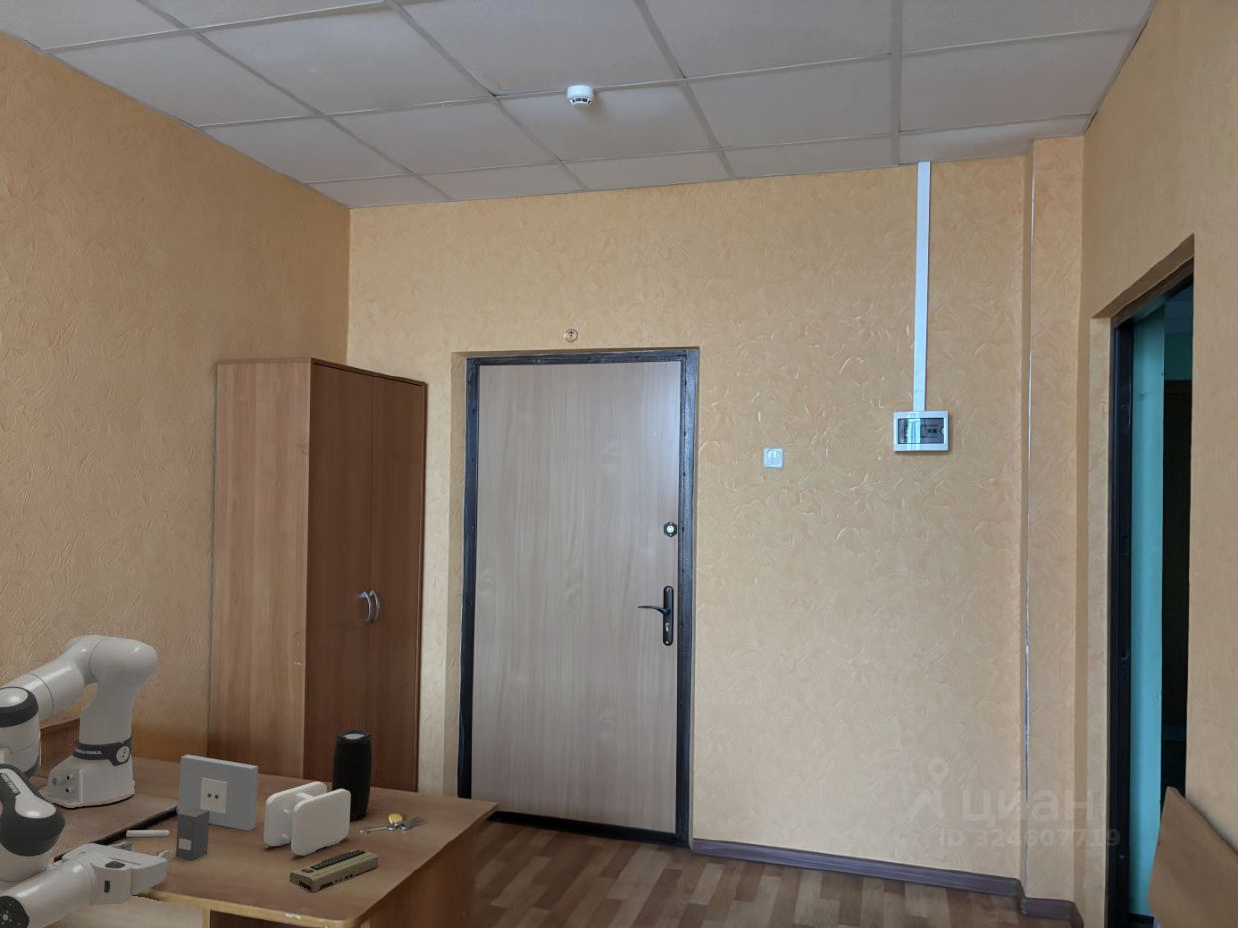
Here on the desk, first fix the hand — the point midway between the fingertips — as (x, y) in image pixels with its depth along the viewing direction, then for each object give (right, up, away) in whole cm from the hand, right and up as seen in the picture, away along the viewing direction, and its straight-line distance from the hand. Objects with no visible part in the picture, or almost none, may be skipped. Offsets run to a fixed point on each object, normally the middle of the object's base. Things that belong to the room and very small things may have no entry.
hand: (147, 849), depth 177 cm
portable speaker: (+29, -8, +37) cm, 47 cm away
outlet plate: (0, -6, +29) cm, 30 cm away
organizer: (+25, -7, +19) cm, 32 cm away
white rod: (-11, -6, +20) cm, 23 cm away
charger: (+3, -6, +11) cm, 13 cm away
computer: (+35, -8, +5) cm, 37 cm away
